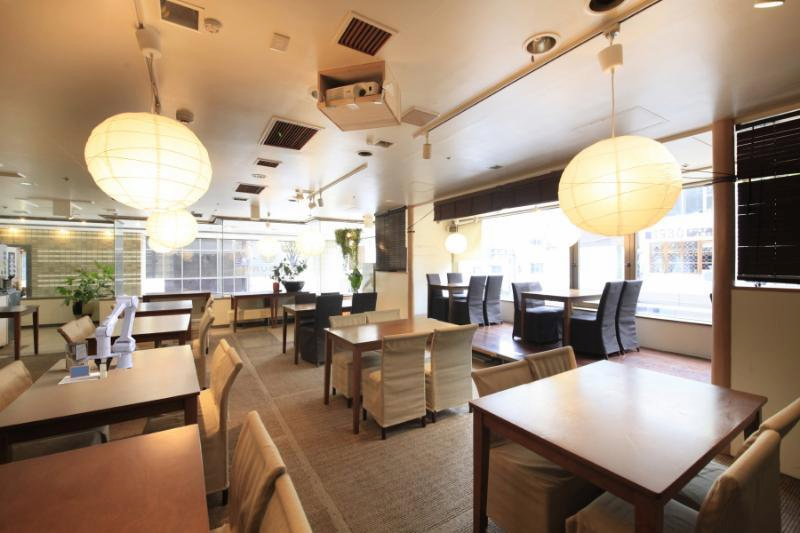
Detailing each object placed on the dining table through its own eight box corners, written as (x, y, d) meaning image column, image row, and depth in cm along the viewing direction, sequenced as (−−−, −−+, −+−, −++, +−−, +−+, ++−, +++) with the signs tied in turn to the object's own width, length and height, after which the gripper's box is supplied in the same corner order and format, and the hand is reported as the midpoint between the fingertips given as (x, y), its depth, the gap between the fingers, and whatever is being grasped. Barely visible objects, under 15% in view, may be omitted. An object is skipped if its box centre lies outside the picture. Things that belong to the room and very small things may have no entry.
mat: (65, 377, 189) (65, 376, 189) (103, 372, 197) (103, 371, 197) (57, 385, 177) (57, 384, 177) (97, 379, 186) (97, 379, 186)
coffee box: (88, 369, 203) (88, 342, 202) (76, 372, 197) (76, 345, 196) (77, 367, 205) (77, 341, 205) (64, 370, 199) (64, 344, 198)
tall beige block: (102, 375, 192) (102, 361, 192) (107, 374, 193) (107, 361, 193) (99, 379, 187) (99, 364, 187) (105, 378, 188) (105, 364, 188)
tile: (70, 377, 187) (70, 366, 187) (90, 374, 192) (90, 364, 191) (70, 378, 186) (70, 367, 186) (89, 375, 190) (89, 365, 190)
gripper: (84, 350, 182) (84, 375, 183) (119, 347, 190) (119, 371, 190) (88, 347, 188) (88, 371, 189) (121, 344, 196) (121, 367, 196)
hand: (103, 371), depth 190 cm, fingers closed on tall beige block, 2 cm apart
